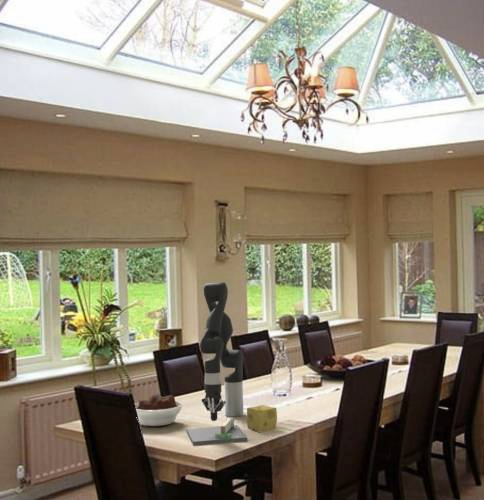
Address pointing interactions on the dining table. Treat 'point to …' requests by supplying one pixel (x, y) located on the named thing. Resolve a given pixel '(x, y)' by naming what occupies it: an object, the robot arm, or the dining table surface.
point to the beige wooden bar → (227, 425)
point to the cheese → (261, 418)
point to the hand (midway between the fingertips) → (214, 420)
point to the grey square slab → (215, 435)
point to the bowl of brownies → (158, 410)
